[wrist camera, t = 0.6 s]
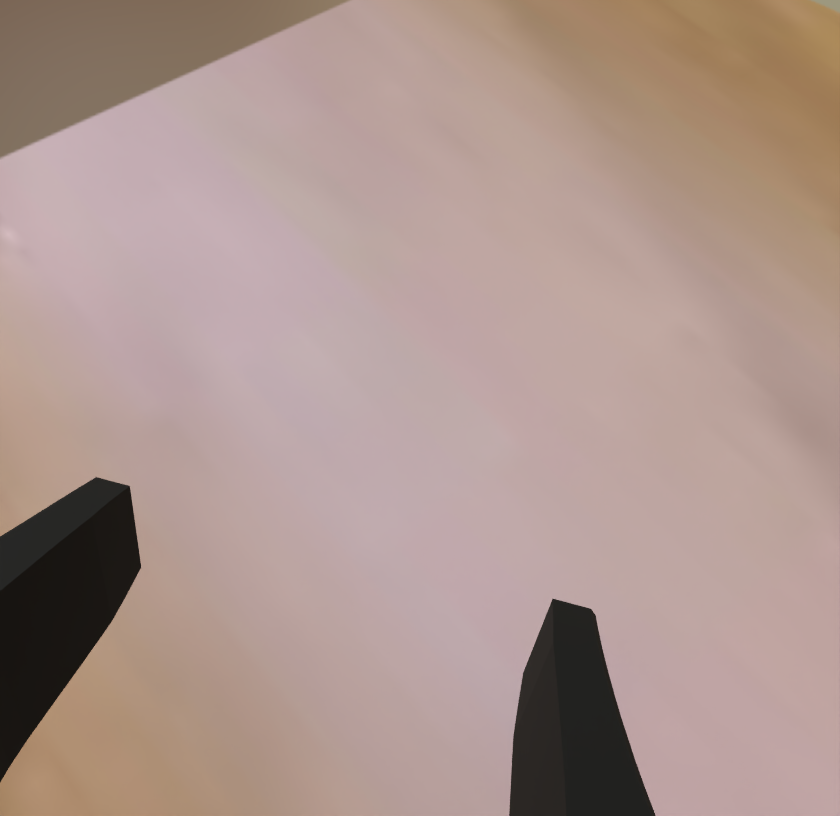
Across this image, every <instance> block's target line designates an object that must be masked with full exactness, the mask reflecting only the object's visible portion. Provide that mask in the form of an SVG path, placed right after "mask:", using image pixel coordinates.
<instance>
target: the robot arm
mask: <svg viewBox="0 0 840 816" xmlns="http://www.w3.org/2000/svg"><path fill="white" fill-rule="evenodd" d="M140 568H141V563H140V556H139V548H138V541H137V534H136V527H135V520H134V513H133V506H132V499H131V492H130V486H127V485H123V484H120V483H116V482H112V481H108V480H105V479H101V478H97V477H96V478H94V479H93V480H91V481H89V482H88V483H86V484H84V485H83V486H81V487H79V488H78V489H76V490H74V491H73V492H71V493H70V494H68V495H66V496H65V497H63V498H61V499H60V500H58V501H57V502H55V503H53V504H52V505H50V506H49V507H47V508H46V509H44V510H42V511H41V512H39V513H38V514H36V515H34V516H33V517H31V518H30V519H28V520H26V521H25V522H23V523H22V524H20V525H18V526H17V527H15V528H13V529H12V530H10V531H9V532H7V533H5V534H4V535H2V536H0V782H1V780H2V778H3V777H4V775H5V773H6V772H7V770H8V768H9V767H10V765H11V764H12V762H13V761H14V759H15V757H16V756H17V754H18V753H19V751H20V750H21V748H22V747H23V745H24V744H25V742H26V741H27V739H28V738H29V737H30V735H31V734H32V732H33V731H34V730H35V728H36V727H37V725H38V724H39V723H40V721H41V720H42V718H43V717H44V716H45V714H46V713H47V712H48V710H49V709H50V707H51V706H52V705H53V703H54V702H55V700H56V699H57V698H58V696H59V695H60V693H61V692H62V691H63V689H64V688H65V686H66V685H67V684H68V682H69V681H70V680H71V678H72V677H73V675H74V674H75V673H76V671H77V670H78V668H79V667H80V666H81V664H82V663H83V661H84V660H85V659H86V657H87V656H88V654H89V653H90V652H91V650H92V649H93V647H94V646H95V644H96V643H97V642H98V640H99V639H100V637H101V636H102V635H103V633H104V632H105V630H106V629H107V627H108V626H109V624H110V623H111V622H112V620H113V618H114V616H115V615H116V613H117V611H118V609H119V607H120V606H121V604H122V602H123V600H124V599H125V597H126V595H127V593H128V591H129V589H130V587H131V585H132V583H133V582H134V580H135V578H136V576H137V574H138V572H139V570H140ZM509 816H655V813H654V810H653V808H652V805H651V802H650V800H649V797H648V795H647V792H646V789H645V787H644V784H643V781H642V778H641V776H640V773H639V770H638V767H637V764H636V762H635V759H634V755H633V752H632V749H631V746H630V743H629V740H628V737H627V734H626V731H625V728H624V725H623V722H622V719H621V715H620V712H619V709H618V705H617V702H616V699H615V695H614V692H613V688H612V684H611V681H610V677H609V673H608V670H607V666H606V662H605V658H604V654H603V649H602V645H601V641H600V636H599V631H598V626H597V621H596V615H595V614H594V613H593V611H592V610H591V609H589V608H586V607H582V606H578V605H574V604H571V603H567V602H563V601H559V600H555V599H553V600H552V602H551V605H550V607H549V610H548V612H547V615H546V617H545V620H544V622H543V625H542V627H541V630H540V632H539V635H538V637H537V640H536V642H535V645H534V647H533V650H532V652H531V655H530V657H529V660H528V662H527V665H526V667H525V670H524V672H523V678H522V684H521V691H520V697H519V703H518V710H517V716H516V723H515V730H514V738H513V755H512V774H511V794H510V814H509Z"/></svg>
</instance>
